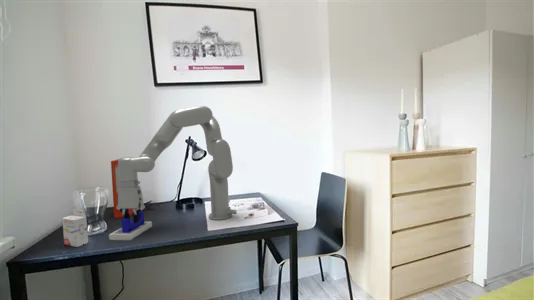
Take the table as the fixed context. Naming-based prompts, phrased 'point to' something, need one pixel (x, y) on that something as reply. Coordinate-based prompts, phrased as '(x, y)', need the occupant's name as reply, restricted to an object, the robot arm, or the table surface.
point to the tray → (131, 235)
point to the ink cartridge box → (75, 228)
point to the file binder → (116, 189)
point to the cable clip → (132, 223)
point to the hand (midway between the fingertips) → (131, 222)
